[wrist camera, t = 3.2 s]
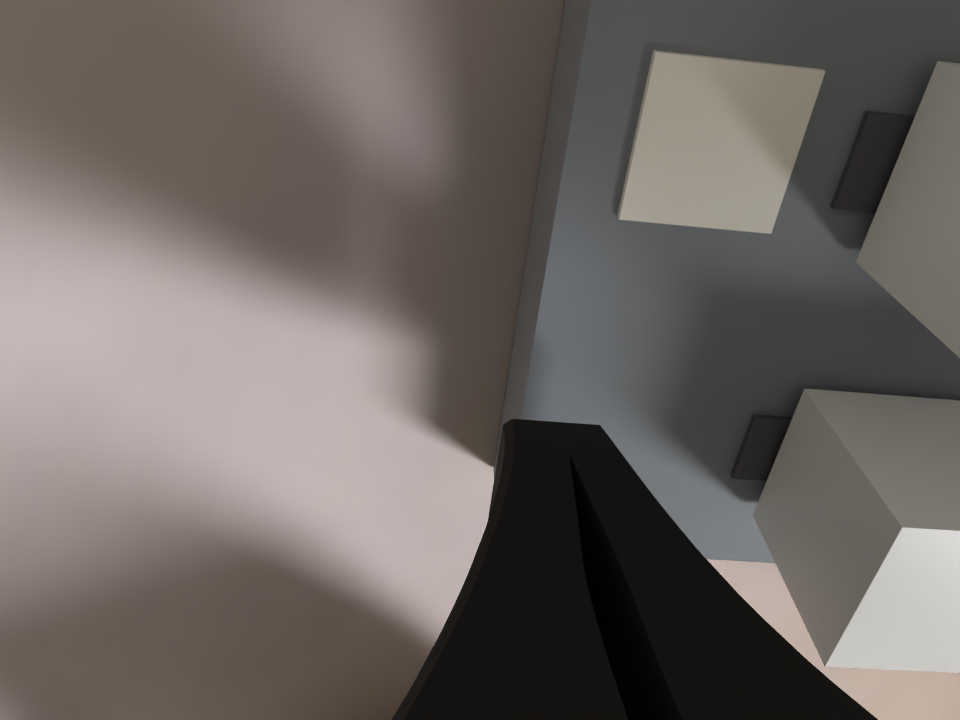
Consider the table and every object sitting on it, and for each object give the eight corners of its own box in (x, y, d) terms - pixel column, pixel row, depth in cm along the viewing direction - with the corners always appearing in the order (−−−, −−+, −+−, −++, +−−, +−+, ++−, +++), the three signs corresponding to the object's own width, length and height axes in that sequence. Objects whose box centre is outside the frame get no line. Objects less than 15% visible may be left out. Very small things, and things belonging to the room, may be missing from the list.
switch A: (998, 403, 11) (1147, 543, 9) (926, 525, 12) (1039, 676, 10) (804, 388, 11) (902, 528, 8) (753, 514, 12) (825, 666, 10)
